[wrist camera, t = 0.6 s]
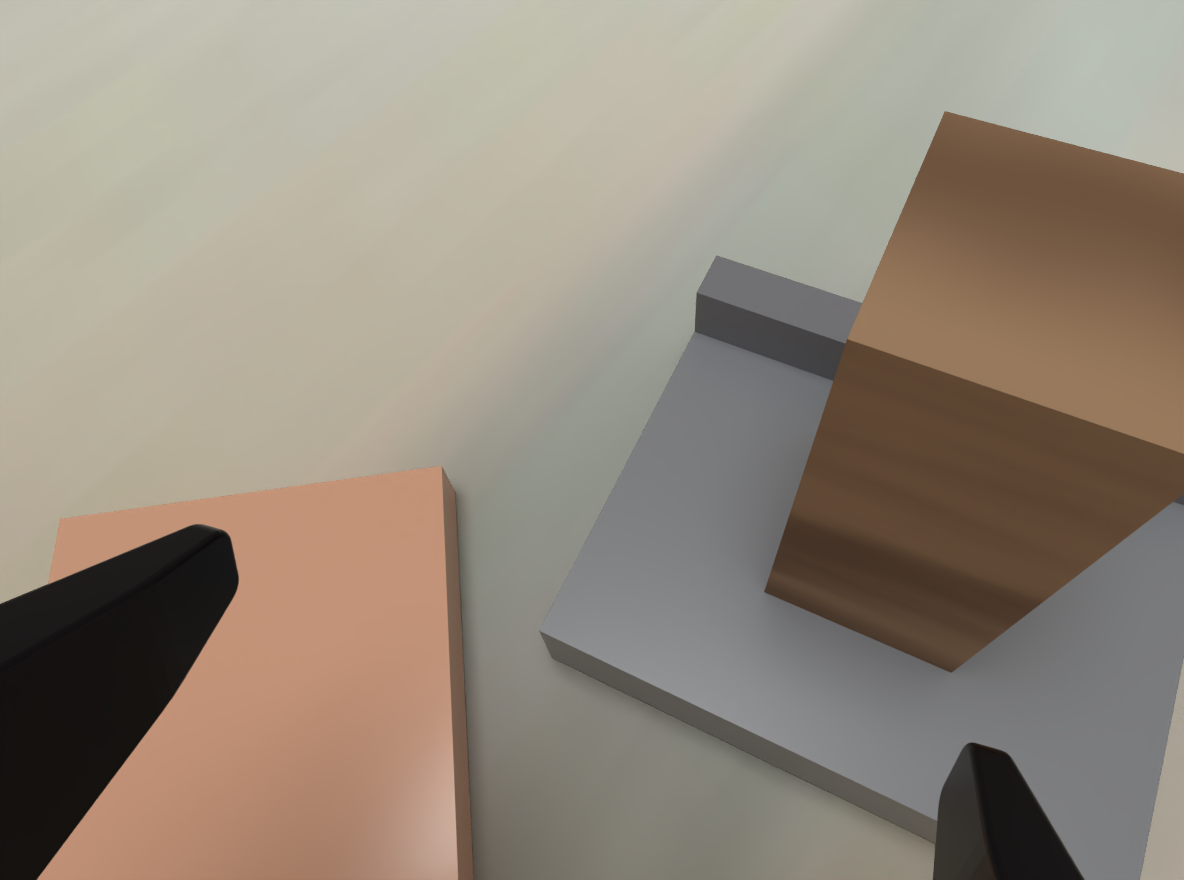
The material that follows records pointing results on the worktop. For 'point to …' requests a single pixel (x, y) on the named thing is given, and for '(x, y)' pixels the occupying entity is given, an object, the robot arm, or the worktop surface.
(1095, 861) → the slate shelf ledge
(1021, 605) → the walnut block
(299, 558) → the terracotta tile stand
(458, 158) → the worktop surface
